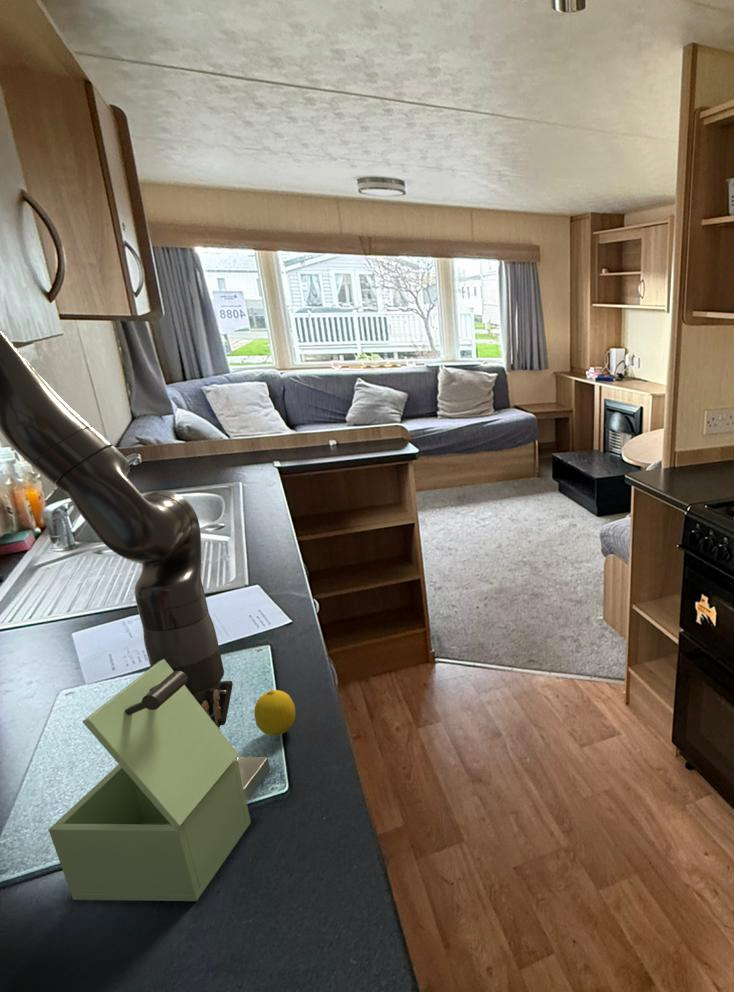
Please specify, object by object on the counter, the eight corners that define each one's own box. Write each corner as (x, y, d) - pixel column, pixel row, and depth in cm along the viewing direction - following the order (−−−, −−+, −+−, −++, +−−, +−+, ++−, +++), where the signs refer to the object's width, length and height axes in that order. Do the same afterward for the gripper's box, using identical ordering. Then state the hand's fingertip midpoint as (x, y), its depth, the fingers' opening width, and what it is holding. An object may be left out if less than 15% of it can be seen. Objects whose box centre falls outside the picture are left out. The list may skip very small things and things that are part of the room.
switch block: (157, 809, 85) (150, 784, 84) (193, 769, 93) (187, 745, 91) (241, 810, 85) (235, 785, 84) (270, 769, 93) (265, 746, 91)
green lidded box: (72, 900, 72) (47, 829, 69) (143, 821, 83) (125, 757, 80) (196, 901, 72) (177, 830, 69) (251, 822, 83) (237, 758, 80)
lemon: (261, 751, 97) (252, 705, 94) (257, 731, 101) (248, 687, 98) (301, 739, 99) (293, 694, 97) (296, 720, 104) (288, 677, 101)
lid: (81, 721, 64) (121, 703, 63) (158, 661, 75) (193, 645, 74) (173, 828, 69) (212, 812, 68) (233, 756, 80) (267, 742, 79)
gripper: (186, 626, 88) (211, 733, 94) (117, 678, 75) (151, 798, 81) (241, 626, 88) (263, 734, 94) (181, 678, 75) (211, 798, 81)
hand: (211, 763), depth 87 cm, fingers closed
